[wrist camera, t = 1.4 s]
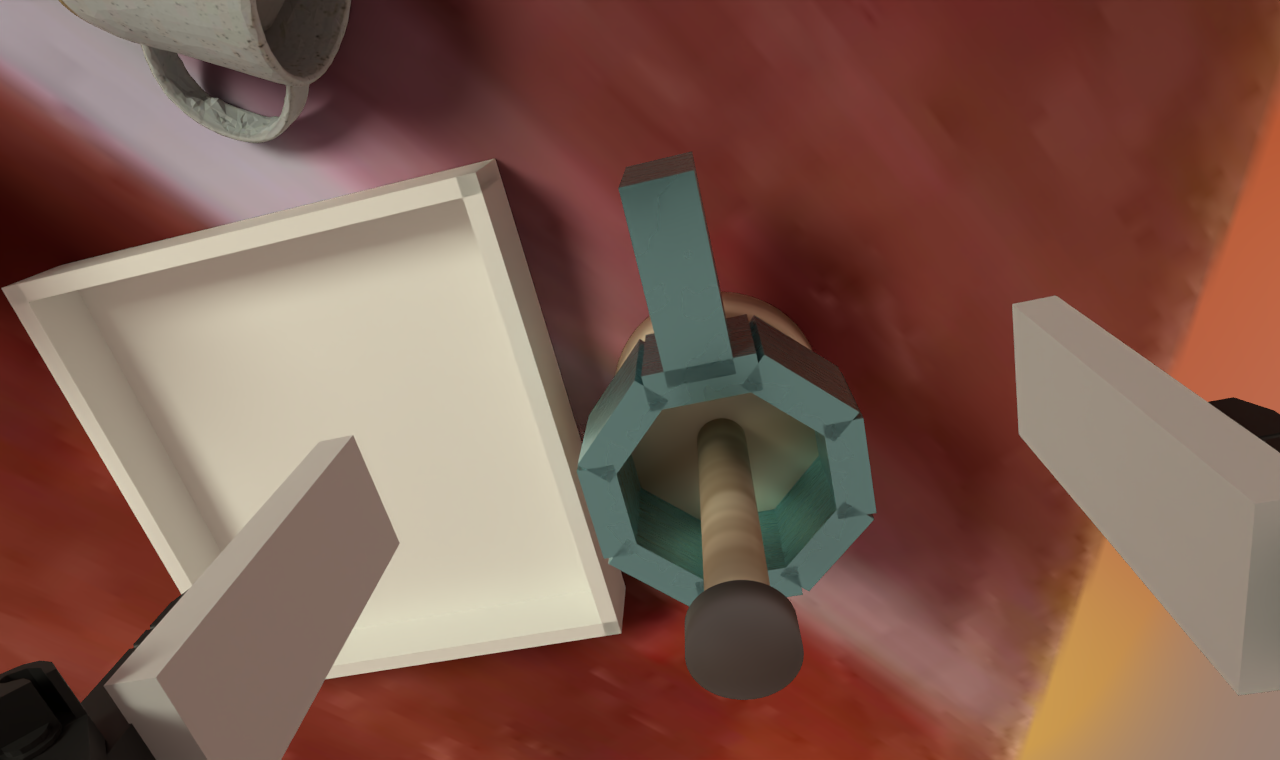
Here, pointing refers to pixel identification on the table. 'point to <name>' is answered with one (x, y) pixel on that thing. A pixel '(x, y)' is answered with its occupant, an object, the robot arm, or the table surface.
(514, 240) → the tray
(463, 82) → the table surface
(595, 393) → the table surface
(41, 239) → the table surface
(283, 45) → the ceramic mug
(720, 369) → the ring
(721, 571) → the wooden peg stand
